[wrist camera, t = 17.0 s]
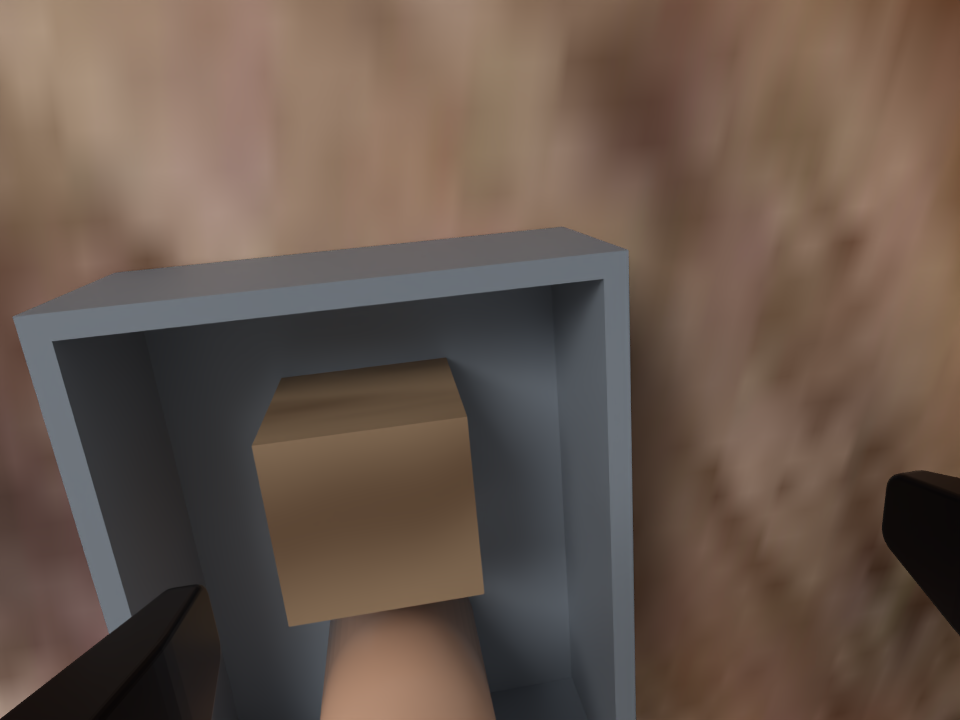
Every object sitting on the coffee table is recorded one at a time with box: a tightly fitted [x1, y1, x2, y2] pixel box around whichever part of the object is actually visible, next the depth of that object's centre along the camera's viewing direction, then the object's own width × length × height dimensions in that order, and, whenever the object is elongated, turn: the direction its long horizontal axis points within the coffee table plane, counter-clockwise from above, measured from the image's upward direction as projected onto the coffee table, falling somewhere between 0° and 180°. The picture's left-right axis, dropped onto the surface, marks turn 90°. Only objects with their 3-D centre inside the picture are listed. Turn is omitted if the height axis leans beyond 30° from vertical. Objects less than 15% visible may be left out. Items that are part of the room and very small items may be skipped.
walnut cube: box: [252, 357, 484, 627], centre depth 19 cm, size 5×5×5 cm
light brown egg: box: [320, 597, 496, 720], centre depth 20 cm, size 5×5×7 cm
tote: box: [13, 227, 636, 720], centre depth 20 cm, size 13×17×6 cm
